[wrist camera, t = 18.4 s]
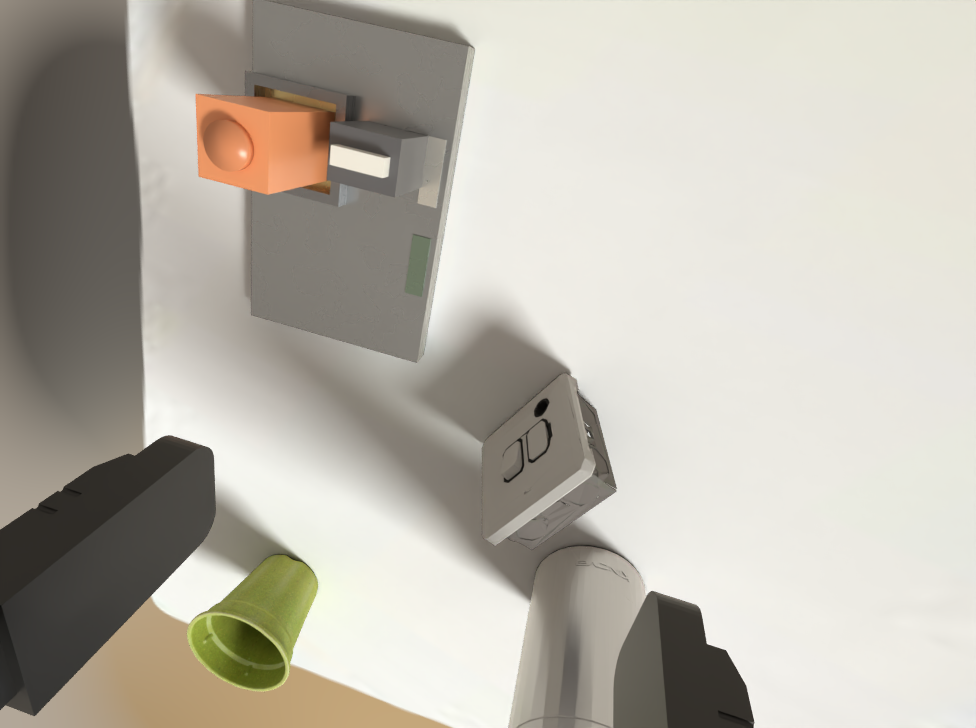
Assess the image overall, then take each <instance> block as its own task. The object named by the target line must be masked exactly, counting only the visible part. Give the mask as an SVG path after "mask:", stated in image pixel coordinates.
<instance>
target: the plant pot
mask: <svg viewBox="0 0 976 728" xmlns="http://www.w3.org/2000/svg"><path fill="white" fill-rule="evenodd" d="M317 588H318V582H317V579H316V577H315V575H314V573H313V572H312V571H311V569H310V568H309V567H308V566H307V565H305V564H304V563H303V562H300V561H295V560H292V559H291V558H289V557H288V556H287V555H273V556H270V557H268V558H266V559H265V560H264V561H263V562H262V563H261V564H260V565H259V566H258V567H257V568H256V569H255V570H254V571H253V572H252V573H251V574H250V575H248V576H247V577H246V578H245V579H244V580H243V581H242V582H241V583H240V584H239V585H238V586H237V587H236V588H235V589H234V590H233V591H232V592H231V593H230V594H229V595H227V596H226V597H225V598H224V599H223V600H222V601H221V602H220V603H218V604H216V605H214V606H213V607H212V608H210V609H209V610H208V611H205V612H203V613H201V614H199V615H197V616H196V617H195V618H194V619H193V620H192V621H191V623H190V624H189V626H188V630H187V638H188V643H189V646H190V648H191V650H192V652H193V653H194V655H195V656H196V658H197V659H198V660H199V661H200V662H201V663H202V665H204V666H205V667H206V668H207V669H208V670H209V671H210V672H211V673H213V674H214V675H216V676H217V677H218V678H220V679H222V680H224V681H225V682H227V683H230V684H232V685H234V686H236V687H240V688H243V689H247V690H252V691H270V690H273V689H276V688H278V687H280V686H281V685H282V684H284V682H285V681H286V679H287V677H288V675H289V672H290V661H291V658H292V655H293V648H294V645H295V643H296V640H297V638H298V636H299V633H300V631H301V628H302V626H303V623H304V621H305V619H306V616H307V614H308V612H309V610H310V607H311V605H312V603H313V601H314V598H315V596H316V593H317Z"/></svg>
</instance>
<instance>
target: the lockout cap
mask: <svg viewBox="0 0 976 728" xmlns="http://www.w3.org/2000/svg"><path fill="white" fill-rule="evenodd" d="M196 118H197V145H198V171H199V177H202V178H206V179H210V180H214V181H218V182H221V183H225V184H229V185H233V186H237V187H240V188H244V189H248V190H252V191H256V192H259V193H263V194H267V195H269V194H273V193H277V192H282V191H286V190H290V189H294V188H299V187H303V186H307V185H311V184H316V183H320V182H324V181H328V180H327V167H328V152H329V137H330V122H335V112H332V111H328V110H324V109H320V108H316V107H312V106H308V105H304V104H299V103H295V102H291V101H287V100H283V99H279V98H275V97H254V96H231V95H209V94H196Z"/></svg>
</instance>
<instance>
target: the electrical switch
mask: <svg viewBox="0 0 976 728" xmlns="http://www.w3.org/2000/svg"><path fill="white" fill-rule="evenodd" d="M577 391H578V385H577V380H576V379H575V378H573V377H571V376H570V375H568V374H566V373H564V374H561V375H559V376H558V377H557V378H556V379H555V380H554V381H553V382H551V383H550V384H549V385H548V386H547V387H546V388H545V389H543V390H542V391H541V392H540V393H539V394H538V395H537V396H535V397H534V398H533V399H532V400H531V401H530V402H528V403H527V404H526V405H525V406H524V407H523V408H522V409H520V410H519V411H518V412H517V413H516V414H515V415H514V416H512V417H511V418H510V419H509V420H508V421H507V422H506V423H504V424H503V425H502V426H501V427H500V428H499V429H498V430H496V431H495V432H494V433H493V434H492V435H491V436H489V437H488V438H487V439H486V440H485V442H484V444H483V447H482V537H483V539H485V540H487V541H488V542H490V543H491V544H493V545H494V546H495V545H497V544H498V543H500V542H501V541H502V540H504V539H505V538H508V539H509V540H511V541H515V542H519V543H521V544H522V545H524V546H526V547H528V548H529V549H531V550H533V549H534V548H536V547H537V546H539V545H540V544H541V543H543V542H544V541H546V540H547V539H549V538H550V537H552V536H553V535H554V534H556V533H557V532H559V531H560V530H562V529H563V528H564V527H566V526H567V525H569V524H570V523H572V522H573V521H575V520H576V519H577V518H579V517H580V516H582V515H583V514H585V513H586V512H588V511H589V510H590V509H592V508H593V507H595V506H596V505H598V504H599V503H601V502H602V501H603V500H605V499H606V498H608V497H609V496H611V495H612V494H613V493H615V492H616V490H615V489H614V488H616V484H615V480H614V476H613V472H612V468H611V465H610V461H609V457H608V453H607V449H606V445H605V442H604V438H603V434H602V430H601V426H600V422H599V419H598V415H597V411H596V409H595V408H594V407H592V406H591V405H589V404H588V403H587V402H586V401H585V400H584V399H583V398H582V397H581V396H580V395H578V394H577ZM583 421H584V422H585V423H586V424H587V425H588V426H589V427H587V426H586V424H585V423H584V422H583ZM588 432H589V433H590V436H591V437H589V436H588V435H587V433H588ZM607 473H608V474H607ZM606 483H607V484H606ZM609 485H610V486H609ZM611 486H612V487H614V488H612V487H611ZM616 489H617V488H616ZM597 497H598V498H597ZM565 503H566V504H568V505H566V504H565ZM545 518H546V519H545ZM547 519H548V520H547ZM546 524H547V525H546ZM544 535H545V536H544Z"/></svg>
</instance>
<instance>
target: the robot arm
mask: <svg viewBox="0 0 976 728" xmlns="http://www.w3.org/2000/svg"><path fill="white" fill-rule="evenodd" d="M215 510H216V507H215V475H214V455H213V452H212V450H211V449H210V448H208V447H205V446H202V445H199V444H196V443H193V442H190V441H187V440H184V439H180V438H177V437H174V436H169V435H168V436H164V437H161V438H160V439H158V440H157V441H155V442H154V443H152V444H151V445H149V446H148V447H147V448H145V449H144V450H142V451H141V452H140V453H138V454H137V455H135V456H134V455H131V454H126V455H123V456H121V457H118V458H116V459H113V460H110V461H108V462H105V463H103V464H100V465H97V466H95V467H93V468H91V469H89V470H88V471H86V472H85V473H84V474H82V475H81V476H79V477H78V478H76V479H75V480H74V481H72V482H70V483H69V484H67V485H66V486H64V488H63V490H62V491H61V492H59V491H57V492H56V493H54V494H53V495H51V496H49V497H48V498H47V499H45V500H44V501H42V502H41V503H39V506H38V507H37V508H36V509H33V508H32V509H30V510H29V511H27V512H26V513H24V514H23V515H22V516H20V517H18V518H17V519H15V520H14V521H12V522H11V523H10V524H8V525H7V526H5V527H4V528H2V529H1V530H0V710H1V709H2V708H3V707H4V706H5V705H7V706H9V707H12V708H14V709H17V710H20V711H22V712H25V713H27V714H30V715H33V716H35V715H36V714H37V713H38V712H39V711H40V710H41V709H42V708H43V707H44V706H45V705H46V704H47V703H48V702H49V701H50V699H52V697H54V696H55V695H56V693H57V692H58V691H59V690H60V689H61V688H62V687H63V686H64V685H65V684H66V683H67V682H68V681H69V680H70V679H71V678H72V677H73V676H74V675H75V674H76V673H77V671H79V670H80V669H81V668H82V667H83V666H84V664H85V663H86V662H87V661H88V660H89V659H90V658H91V657H92V656H93V655H94V654H95V653H96V652H97V651H98V650H99V649H100V648H101V647H102V646H103V645H104V644H105V643H106V642H107V641H108V640H109V639H110V638H111V636H112V635H113V634H114V633H115V632H116V631H117V630H118V629H119V628H120V627H121V626H122V625H123V624H124V623H125V622H126V621H127V620H128V619H129V618H130V617H131V616H132V615H133V614H134V613H135V612H136V610H137V609H139V607H141V605H142V604H143V603H144V602H145V601H146V600H147V599H148V598H149V597H150V596H151V595H152V594H153V593H154V592H155V591H156V590H157V589H158V588H159V587H160V586H161V585H162V584H163V583H164V582H165V581H166V580H167V579H168V578H169V576H170V575H171V574H172V573H173V572H174V571H175V570H176V569H177V568H178V567H179V566H180V565H181V564H182V563H183V562H184V561H185V560H186V559H187V558H188V557H189V556H190V555H191V554H192V553H193V552H194V551H195V550H196V549H197V547H198V546H199V545H200V544H201V543H202V542H203V540H204V539H205V538H206V536H207V534H208V533H209V531H210V529H211V526H212V524H213V521H214V517H215ZM753 726H754V719H753V714H752V710H751V705H750V701H749V696H748V692H747V687H746V685H745V683H744V681H743V679H742V678H741V676H740V674H739V672H738V671H737V669H736V667H735V665H734V664H733V662H732V660H731V658H730V657H729V655H728V653H727V651H726V650H723V649H720V648H717V647H714V646H711V645H708V644H707V643H706V637H705V631H704V625H703V619H702V614H701V611H700V609H699V607H698V606H697V605H695V604H692V603H688V602H685V601H682V600H679V599H676V598H673V597H670V596H667V595H663V594H660V593H657V592H654V591H651V592H649V593H648V595H647V596H646V594H645V586H644V583H643V580H642V578H641V576H640V574H639V573H638V572H637V570H636V569H635V568H634V567H633V566H632V565H631V564H630V563H629V562H628V561H627V560H625V559H624V558H622V557H620V556H619V555H617V554H615V553H612V552H610V551H608V550H605V549H601V548H596V547H590V546H575V547H568V548H564V549H561V550H558V551H556V552H554V553H552V554H550V555H549V556H548V557H547V558H545V559H544V560H543V561H542V563H541V564H540V565H539V567H538V569H537V572H536V575H535V579H534V585H533V591H532V596H531V602H530V607H529V612H528V618H527V623H526V629H525V635H524V640H523V646H522V652H521V658H520V663H519V669H518V675H517V680H516V686H515V692H514V697H513V703H512V709H511V714H510V720H509V726H508V728H754V727H753Z"/></svg>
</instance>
